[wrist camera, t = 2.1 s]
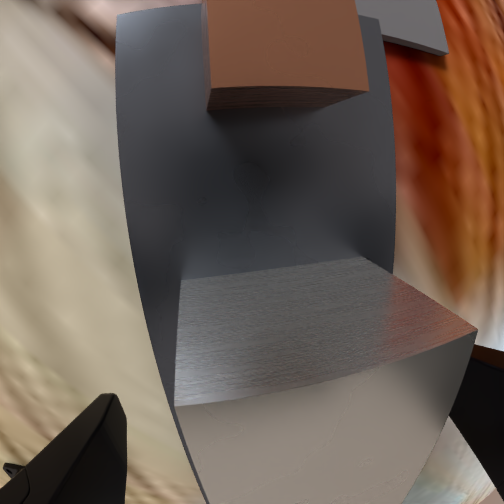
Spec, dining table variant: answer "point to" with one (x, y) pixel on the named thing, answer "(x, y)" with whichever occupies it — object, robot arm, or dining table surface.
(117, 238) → the dining table surface
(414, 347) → the grey beige block
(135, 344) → the dining table surface
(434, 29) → the mat
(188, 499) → the dining table surface
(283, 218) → the body
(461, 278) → the dining table surface
